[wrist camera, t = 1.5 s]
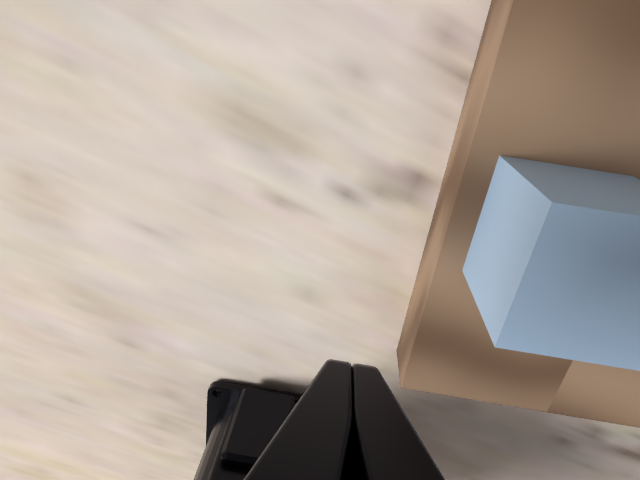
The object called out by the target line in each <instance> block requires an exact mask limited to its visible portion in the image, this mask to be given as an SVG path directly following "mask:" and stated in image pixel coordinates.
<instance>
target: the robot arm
mask: <svg viewBox="0 0 640 480" xmlns="http://www.w3.org/2000/svg"><path fill="white" fill-rule="evenodd" d="M216 390H218V391H220V392H218V391H216ZM194 480H445V479H444V478H443V476H442V474H441V473H440V471H439V469H438V468H437V466H436V464H435V463H434V461H433V459H432V458H431V456H430V454H429V453H428V451H427V449H426V448H425V446H424V445H423V443H422V441H421V440H420V438H419V436H418V435H417V433H416V431H415V430H414V428H413V426H412V425H411V423H410V421H409V420H408V418H407V416H406V415H405V413H404V411H403V410H402V408H401V407H400V405H399V403H398V402H397V400H396V398H395V397H394V395H393V393H392V392H391V390H390V388H389V387H388V385H387V383H386V382H385V380H384V378H383V377H382V375H381V373H380V372H379V370H378V369H377V368H376V367H374V366H368V365H362V364H353V366H351V364H350V363H349V362H344V361H338V360H332V359H329V360H327V361H326V362H325V364H324V365H323V367H322V368H321V369H320V371H319V372H318V374H317V375H316V377H315V378H314V379H313V381H312V382H311V384H310V385H309V387H308V388H307V390H306V391H305V392H304V394H303V395H298V394H292V393H286V392H280V391H274V390H268V389H262V388H256V387H250V386H244V385H238V384H232V383H226V382H220V381H215V382H213V383H212V384H211V385H210V387H209V389H208V396H207V430H206V448H205V451H204V453H203V456H202V459H201V461H200V464H199V467H198V469H197V472H196V475H195V477H194Z"/></svg>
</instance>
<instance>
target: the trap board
mask: <svg viewBox="0 0 640 480" xmlns="http://www.w3.org/2000/svg"><path fill="white" fill-rule="evenodd" d="M499 155H500V156H507V157H513V158H520V159H526V160H532V161H539V162H545V163H552V164H558V165H565V166H571V167H577V168H584V169H590V170H597V171H603V172H610V173H616V174H622V175H629V176H634V177H636V178H638V179H640V0H492V2H491V5H490V9H489V13H488V16H487V20H486V24H485V27H484V31H483V35H482V39H481V42H480V46H479V50H478V53H477V57H476V61H475V64H474V68H473V72H472V75H471V79H470V83H469V86H468V90H467V94H466V97H465V101H464V105H463V109H462V112H461V116H460V120H459V123H458V127H457V131H456V134H455V138H454V142H453V145H452V149H451V153H450V156H449V160H448V164H447V167H446V171H445V175H444V179H443V182H442V186H441V190H440V193H439V197H438V201H437V204H436V208H435V212H434V215H433V219H432V223H431V226H430V230H429V234H428V237H427V241H426V245H425V249H424V252H423V256H422V260H421V263H420V267H419V271H418V274H417V278H416V282H415V285H414V289H413V293H412V296H411V300H410V304H409V307H408V311H407V315H406V319H405V322H404V326H403V330H402V333H401V337H400V341H399V344H398V348H397V358H398V367H399V376H400V385H401V388H405V389H411V390H417V391H423V392H429V393H435V394H441V395H447V396H453V397H459V398H465V399H471V400H477V401H483V402H489V403H495V404H501V405H507V406H513V407H519V408H525V409H531V410H537V411H543V412H549V413H555V414H561V415H567V416H573V417H579V418H585V419H591V420H597V421H603V422H609V423H615V424H621V425H627V426H633V427H639V428H640V371H636V370H630V369H624V368H618V367H612V366H606V365H600V364H594V363H588V362H581V361H575V360H569V359H563V358H557V357H551V356H545V355H539V354H533V353H526V352H520V351H514V350H508V349H502V348H496V347H494V344H493V342H492V340H491V337H490V335H489V333H488V330H487V328H486V326H485V323H484V321H483V318H482V316H481V314H480V311H479V309H478V307H477V304H476V302H475V300H474V297H473V295H472V292H471V290H470V288H469V285H468V283H467V281H466V278H465V276H464V274H463V271H462V270H463V266H464V263H465V260H466V257H467V254H468V251H469V248H470V245H471V242H472V239H473V235H474V232H475V229H476V226H477V223H478V220H479V217H480V214H481V211H482V208H483V204H484V201H485V198H486V195H487V192H488V189H489V186H490V183H491V180H492V176H493V173H494V170H495V167H496V164H497V161H498V158H499Z"/></svg>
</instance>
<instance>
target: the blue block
mask: <svg viewBox="0 0 640 480" xmlns="http://www.w3.org/2000/svg"><path fill="white" fill-rule="evenodd" d="M462 271H463V274H464V276H465V278H466V281H467V283H468V285H469V288H470V290H471V292H472V295H473V297H474V300H475V302H476V304H477V307H478V309H479V311H480V314H481V316H482V318H483V321H484V323H485V326H486V328H487V330H488V333H489V335H490V337H491V340H492V342H493V344H494V347H496V348H502V349H508V350H514V351H520V352H526V353H533V354H539V355H545V356H551V357H557V358H563V359H569V360H575V361H581V362H588V363H594V364H600V365H606V366H612V367H618V368H624V369H630V370H636V371H640V179H638V178H636V177H634V176H629V175H622V174H616V173H610V172H603V171H597V170H590V169H584V168H577V167H571V166H565V165H558V164H552V163H545V162H539V161H532V160H526V159H520V158H513V157H507V156H500V155H499V158H498V161H497V164H496V167H495V170H494V173H493V176H492V180H491V183H490V186H489V189H488V192H487V195H486V198H485V201H484V204H483V208H482V211H481V214H480V217H479V220H478V223H477V226H476V229H475V232H474V235H473V239H472V242H471V245H470V248H469V251H468V254H467V257H466V260H465V263H464V266H463V270H462Z"/></svg>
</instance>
